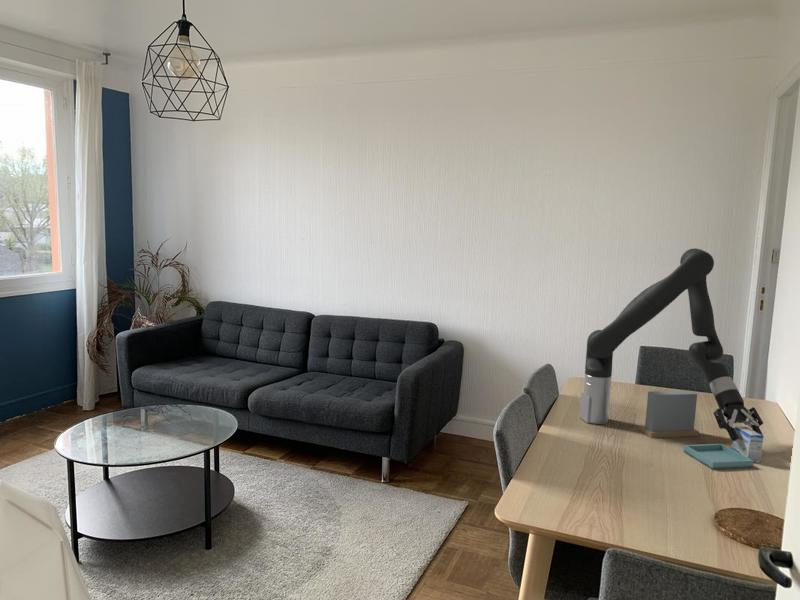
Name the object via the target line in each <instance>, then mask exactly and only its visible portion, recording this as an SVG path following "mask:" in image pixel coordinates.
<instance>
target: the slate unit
mask: <svg viewBox="0 0 800 600" xmlns="http://www.w3.org/2000/svg"><path fill="white" fill-rule="evenodd" d="M697 400H698V393H696V392H694V391H692V390H663V391H662V390H659V391H651V390H650V391H648V392H647V399H646V401H647V403H646V413H645V422H644V425H639V431H640V432H641V433H644V434H645V435H647V436H648V437H649V438H672V437H673V438H675V437H677V438H678V437H698V436H700V431H699V430H697V429H695V421H696V413H697V412H696V410H697V402H698V401H697Z"/></svg>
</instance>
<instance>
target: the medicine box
mask: <svg viewBox="0 0 800 600" xmlns="http://www.w3.org/2000/svg"><path fill="white" fill-rule="evenodd" d="M734 429H735V431H736V433H737V435H738V437H739V439H738V440H736V441H733V440H732V447H731V449H733V450H734V451H736V452H738V453H740V454H742V455H744V456H746V457H747V458H749V459H751V460H753V463H757V462H761V461H762V451H763V443H764V435H761V434H759V433H757V432H755V431H753V430H752V428H750V427H749V426H748V427H747V426H734Z"/></svg>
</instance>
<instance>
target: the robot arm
mask: <svg viewBox="0 0 800 600" xmlns="http://www.w3.org/2000/svg"><path fill="white" fill-rule="evenodd" d="M679 263H680V265H678V266H677V268H675V269H674V270H673V271H672V272H671V273H670V274H669V275H667V276H666V277H664V278H663V279H661V280H659V281H657V282H656V283H653V284H651V285H650V286H648V287H647V288H645V289H644V290H643V291H641V292H640V293H638V295H636V296H635V297H634V298H633V299H632V300H631V301H630V302H629V303H628V304H627V305H626V306H625V307H624V308H623V310H622V311H620V313H619V314H618V316H617V317H616V318H615V319H614V320H613V321H612V322H611V323H610V324H608V325H607V326H605V327H604V328H603V329H596V330H594V331H592V332H591V333H590V334H589V335H588V338H587V340H586V350H585V351H586V355H585V365H584V366H585V367H584V379H583V380H584V382H583V392H581V393H580V394H581V395H580V407H579V418H580V419H581V420H582V421H584V422H585V423H586V424H594V425H595V424H597V425H603V424H607V423H608V422H609V412H610V399H611V387H612V374H613V357H614V356H613V355H614V351H616V349H617V348H618V347H619V346H620V345H621V344H622V343H623V342H624V341H625V340H626V339H627V338H628V337H630V336H631V335H632V334H634V333H635V332H637V331H638V330H639V329H642V327H644V326H645V325H646V324H647V323H649V322H651V321H652V320H653V319H654V318H655V317H656V316H657V315H659V314H660V313H661V312H662V311H664V310H665V309H666V308H668V306H669V305H671V304H672V303H673V302H674V301H675V300H676V299H678V297H680V295H681V294H683V293H684V292H685V291H686V290H687V295H688V301H689V311H690V312H689V313H690V314H689V315H690V321H691V329H692V334H693V335H695V336H696V337H704V338H705V337H706V339H707V340H705V341H700V342H693V343H691V344H690V345H689V348H688V354H689V358H690V359H691V361H692V362H693V363H694V364H695V365H696V367H697V368H698V369H699V370H700V371H701V372H702V373H703V375H704V376H705V378H706V380H707V382H708V385H709V387H710V390H711V393H712V395H713V397H714V399H715V401H716V404H717V406H718V408H717V409H715V410H714V411H713V415H714V418H715V420H716V423H717V426H718V428H720V429H721V430H722V429H724V430H726V432H727V434H728V437H729V438H730V439H731V440H732V442H733V441H736V440H738V439H739V437H738V435H737V433H736V431H735V427H734V424H744V425H745V426H748V428H750V429H752V430H753V431H755V432H757V433H759V434H761V435H763V432H762V431H761V429H760V427H761V426H762V425H763V424H764V421H763V420H762V418H761V417H760V414H759V413H758V410H757V409H756V408H755V407H753V406H752V407H751V408H747V407H745V401H744V398H743V397H742V394H741V392H740V391H739V389H738V387H737V385H736V383H735V382H734V379H733V378H732V376H731V374H730V373H729V370H728V369H727V367H726V365H725V364H723V363H721V362H714V361H718V360H721V358H722V357H723V355H724V349H723V348H724V347H723V345H722V343H721V341H720V339H719V336H718V333H717V330H716V326H715V325H716V324H715V318H714V310H713V306H712V302H711V299H710V295H709V291H708V282H707V277H708V275H709V274H710V273H711V272H712V271H713V269H714V266H715V260H714V258H713V256H712V255H711V254H710V253H709V252H707V251H705V250H703V249H700V248H696V247H695V248H690V249H688V250H686V251H685V252H683V254H682V255H681V257H680V261H679ZM763 436H764V435H763Z"/></svg>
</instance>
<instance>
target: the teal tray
mask: <svg viewBox="0 0 800 600" xmlns="http://www.w3.org/2000/svg"><path fill="white" fill-rule="evenodd" d="M682 452H683V453H685V454H686V455H688V456H689V457H691V458H693V459H694V460H696V461H697V462H699V463H701V464H703V465H704V466H705V467H706V468H708V469H710V470H712V471H713V470H731V469H733V470H734V469H752V468H753V466H754V462H753V460H751V459H749V458H747V457H746V456H744V455H742V454H740V453H738V452H736V451H734V450H733V449H732V447H729V446H727V445H725V444H723V443H708V444H707V443H706V444H705V443H704V444H685V445H683V450H682Z"/></svg>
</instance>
